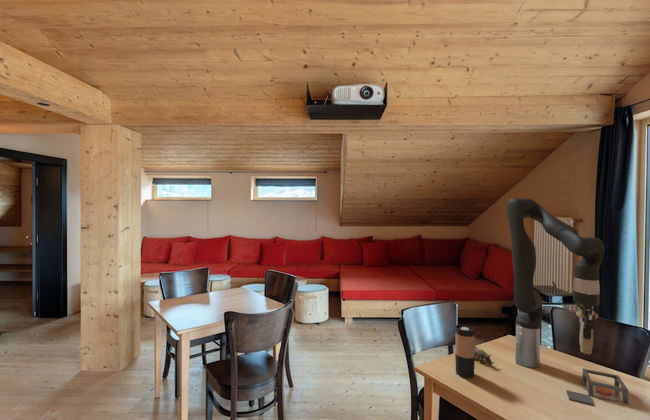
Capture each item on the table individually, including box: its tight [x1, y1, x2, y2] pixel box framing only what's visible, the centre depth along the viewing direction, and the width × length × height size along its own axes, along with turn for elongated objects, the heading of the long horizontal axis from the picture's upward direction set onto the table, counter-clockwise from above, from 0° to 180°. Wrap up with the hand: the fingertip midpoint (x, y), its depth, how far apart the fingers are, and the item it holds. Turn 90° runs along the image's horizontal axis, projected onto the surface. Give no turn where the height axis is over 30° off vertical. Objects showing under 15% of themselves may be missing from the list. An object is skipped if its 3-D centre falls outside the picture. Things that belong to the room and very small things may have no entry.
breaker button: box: [595, 386, 613, 395], centre depth 120 cm, size 5×5×1 cm
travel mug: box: [454, 323, 476, 379], centre depth 133 cm, size 8×8×20 cm
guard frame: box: [581, 368, 629, 405], centre depth 120 cm, size 11×11×5 cm
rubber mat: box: [566, 389, 595, 406], centre depth 117 cm, size 7×6×1 cm
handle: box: [575, 310, 599, 355], centre depth 117 cm, size 5×6×15 cm
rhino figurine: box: [475, 345, 495, 366], centre depth 144 cm, size 4×14×6 cm, turn 24°
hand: (585, 336), depth 117 cm, fingers closed on handle, 4 cm apart
